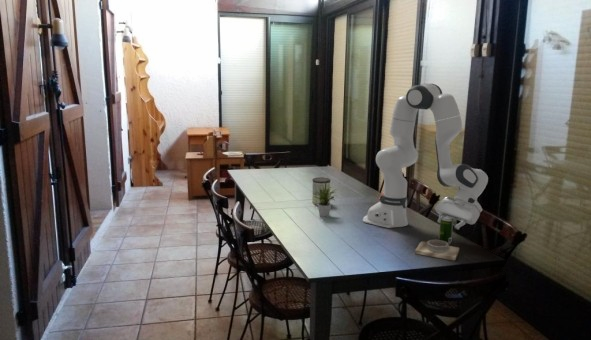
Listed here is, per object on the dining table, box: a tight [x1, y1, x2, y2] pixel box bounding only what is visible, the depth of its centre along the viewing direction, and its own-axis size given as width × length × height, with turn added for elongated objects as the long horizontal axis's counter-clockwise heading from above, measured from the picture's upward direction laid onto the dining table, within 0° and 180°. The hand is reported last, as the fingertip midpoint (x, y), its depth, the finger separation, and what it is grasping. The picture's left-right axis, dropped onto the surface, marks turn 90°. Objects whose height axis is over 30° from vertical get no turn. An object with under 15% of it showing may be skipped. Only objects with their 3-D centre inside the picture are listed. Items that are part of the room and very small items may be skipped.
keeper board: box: [414, 239, 460, 261], centre depth 198 cm, size 16×12×4 cm
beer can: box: [438, 216, 454, 246], centre depth 208 cm, size 5×5×12 cm
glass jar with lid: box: [311, 177, 331, 206], centre depth 269 cm, size 10×10×14 cm
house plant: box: [314, 186, 338, 218], centre depth 245 cm, size 14×14×16 cm
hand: (447, 225), depth 208 cm, fingers open, 8 cm apart
